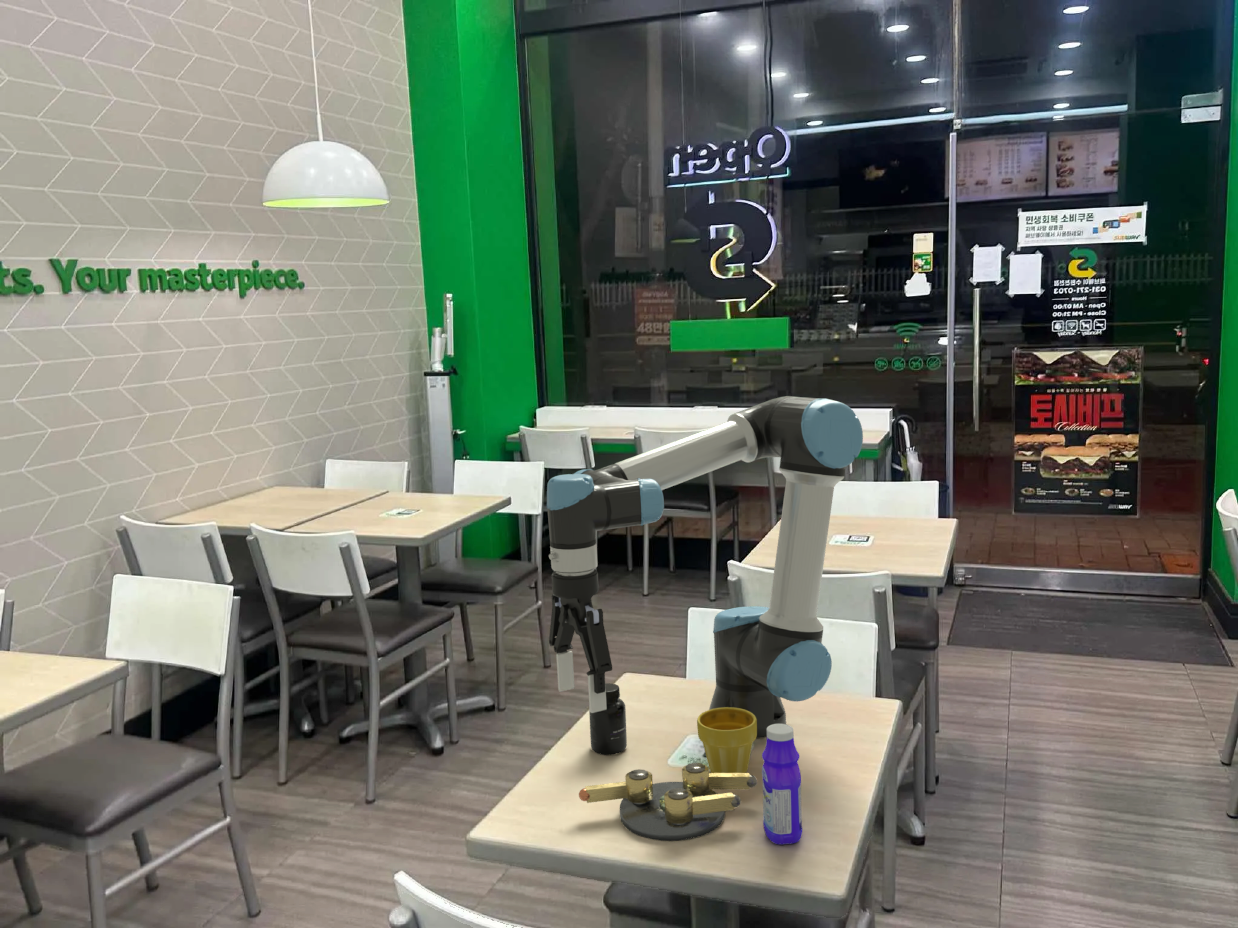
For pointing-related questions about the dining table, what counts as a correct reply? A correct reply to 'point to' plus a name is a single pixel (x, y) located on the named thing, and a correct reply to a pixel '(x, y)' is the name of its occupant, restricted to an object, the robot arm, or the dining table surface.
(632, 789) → the knob
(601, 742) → the supplement bottle
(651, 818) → the tribrach plate
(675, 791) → the knob
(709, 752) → the plant pot
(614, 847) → the dining table surface
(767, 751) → the bottle
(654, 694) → the dining table surface
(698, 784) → the knob left
